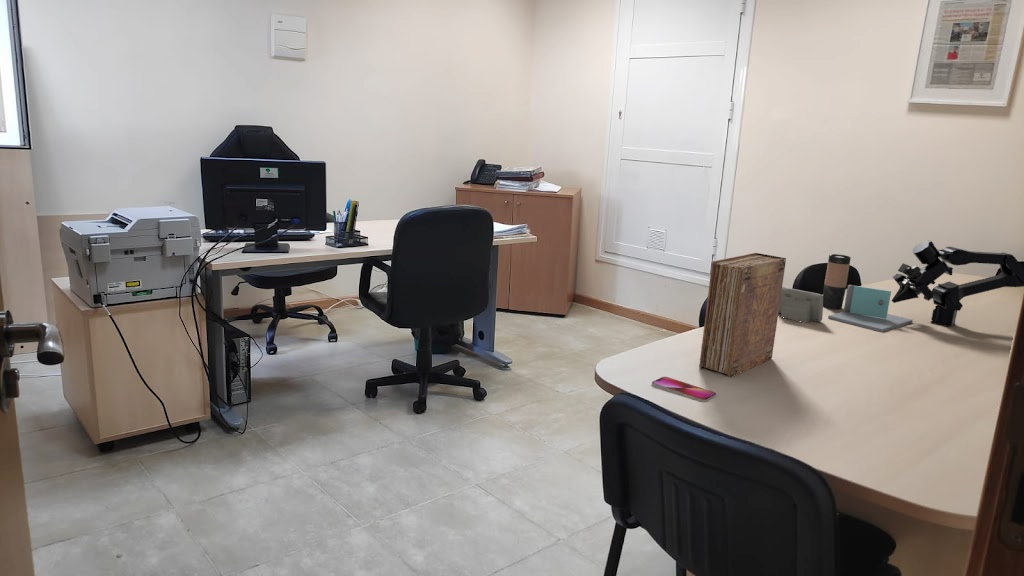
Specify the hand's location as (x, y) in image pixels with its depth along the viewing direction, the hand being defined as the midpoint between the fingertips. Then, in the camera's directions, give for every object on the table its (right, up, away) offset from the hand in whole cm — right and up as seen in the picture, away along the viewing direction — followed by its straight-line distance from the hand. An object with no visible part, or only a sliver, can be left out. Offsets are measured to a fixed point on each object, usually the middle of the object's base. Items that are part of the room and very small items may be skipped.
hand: (892, 301), depth 252 cm
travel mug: (-14, -3, +18) cm, 23 cm away
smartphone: (-94, -21, -76) cm, 122 cm away
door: (-9, -5, +3) cm, 10 cm away
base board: (-8, -7, +1) cm, 10 cm away
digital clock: (-35, -6, -1) cm, 35 cm away
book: (-74, -17, -54) cm, 92 cm away
